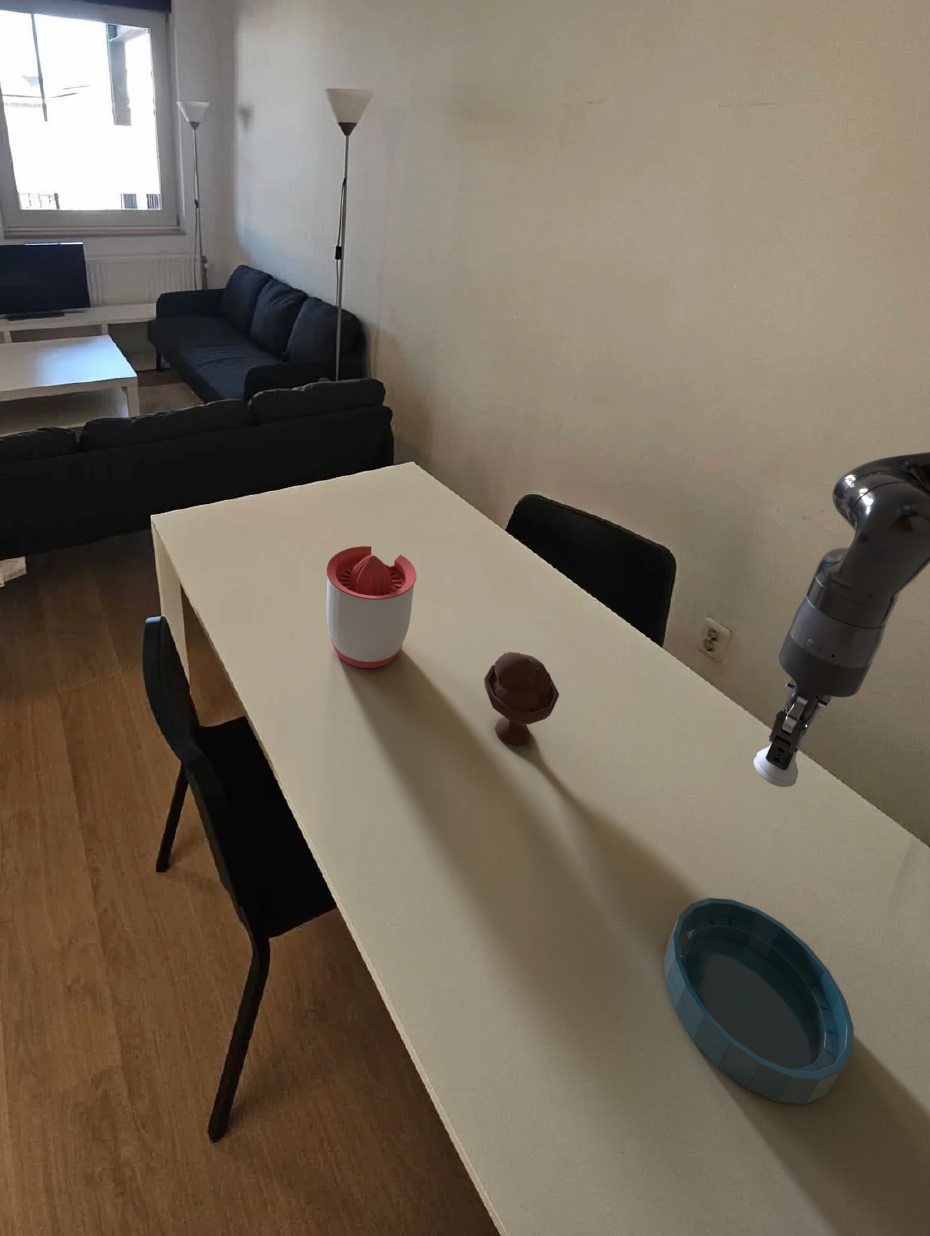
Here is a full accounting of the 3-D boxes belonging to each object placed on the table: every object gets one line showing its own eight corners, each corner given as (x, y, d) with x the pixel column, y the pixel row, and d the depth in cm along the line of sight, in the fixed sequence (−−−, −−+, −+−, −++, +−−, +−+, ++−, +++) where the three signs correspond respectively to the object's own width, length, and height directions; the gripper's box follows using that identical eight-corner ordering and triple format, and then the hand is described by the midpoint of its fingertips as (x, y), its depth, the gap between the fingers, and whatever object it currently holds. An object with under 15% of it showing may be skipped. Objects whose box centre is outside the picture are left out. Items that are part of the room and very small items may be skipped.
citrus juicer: (422, 629, 125) (432, 540, 117) (391, 690, 110) (400, 593, 102) (347, 605, 131) (352, 519, 123) (308, 660, 116) (311, 566, 108)
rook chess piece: (760, 751, 82) (780, 703, 78) (801, 776, 79) (823, 727, 75) (746, 770, 79) (766, 721, 76) (787, 796, 76) (810, 747, 73)
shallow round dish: (778, 930, 77) (791, 903, 75) (875, 1113, 63) (894, 1086, 61) (640, 919, 78) (650, 892, 76) (704, 1098, 63) (718, 1071, 61)
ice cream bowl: (521, 774, 96) (538, 697, 90) (463, 726, 104) (474, 652, 98) (562, 738, 102) (579, 663, 96) (503, 695, 110) (517, 624, 104)
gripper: (855, 691, 64) (799, 812, 71) (888, 631, 72) (835, 744, 79) (770, 650, 69) (725, 766, 76) (810, 598, 78) (767, 707, 84)
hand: (781, 754), depth 77 cm, fingers closed on rook chess piece, 3 cm apart
